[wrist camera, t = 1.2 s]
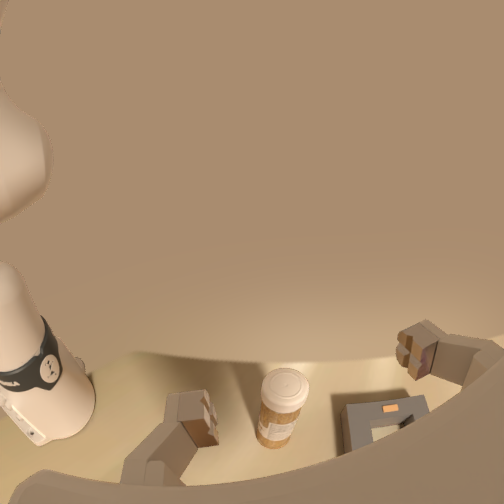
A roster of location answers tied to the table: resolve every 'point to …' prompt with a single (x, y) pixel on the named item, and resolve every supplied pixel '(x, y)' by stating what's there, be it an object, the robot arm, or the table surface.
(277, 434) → the sprinkles bottle
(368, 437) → the square frame
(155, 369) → the table surface
